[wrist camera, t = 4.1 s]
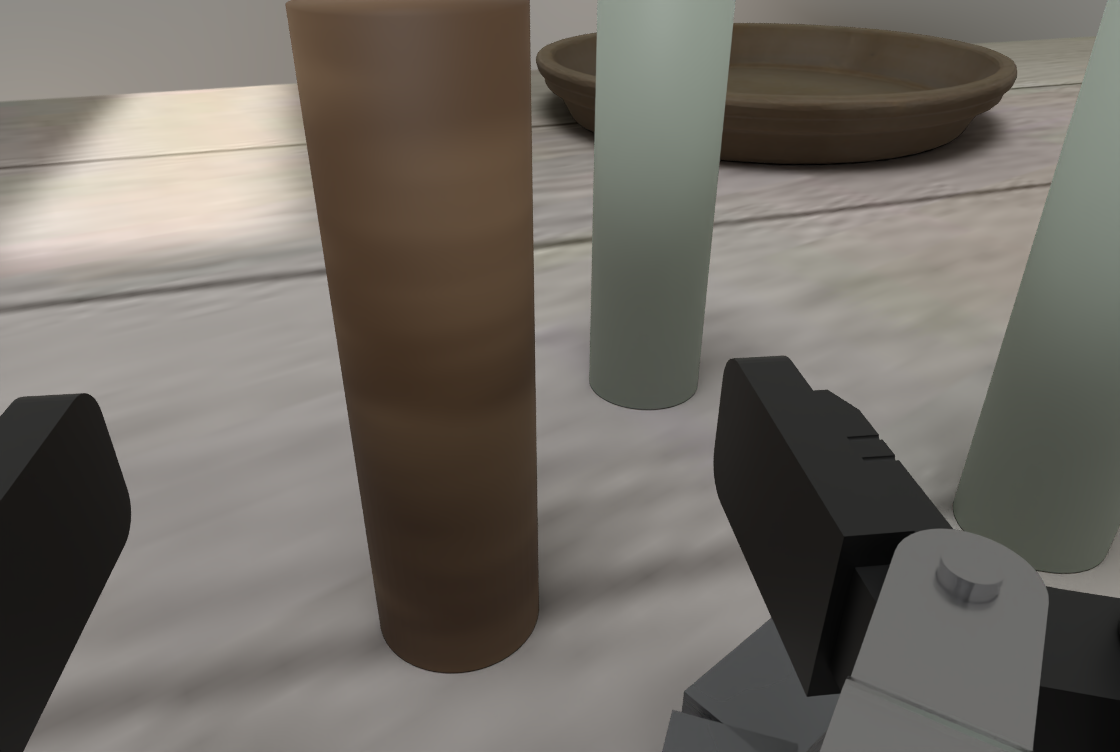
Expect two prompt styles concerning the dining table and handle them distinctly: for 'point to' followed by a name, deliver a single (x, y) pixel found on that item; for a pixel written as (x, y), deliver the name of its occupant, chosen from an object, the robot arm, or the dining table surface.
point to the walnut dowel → (432, 305)
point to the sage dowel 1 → (655, 193)
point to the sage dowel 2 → (1061, 356)
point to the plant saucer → (823, 91)
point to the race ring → (751, 704)
